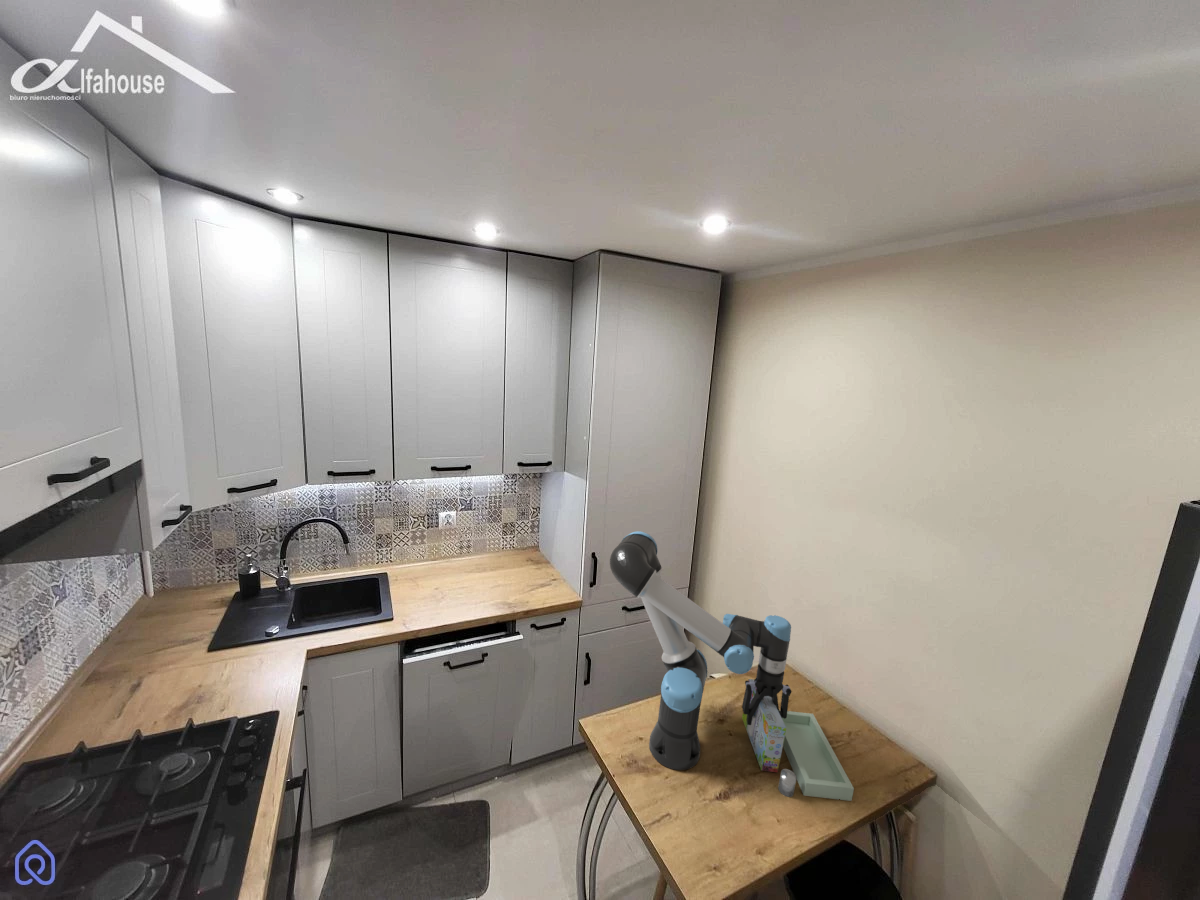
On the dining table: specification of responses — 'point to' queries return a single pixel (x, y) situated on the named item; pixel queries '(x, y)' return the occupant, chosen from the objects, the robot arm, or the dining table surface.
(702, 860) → the dining table surface
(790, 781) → the metal part
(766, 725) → the snack box
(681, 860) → the dining table surface
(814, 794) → the tray
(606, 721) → the dining table surface
